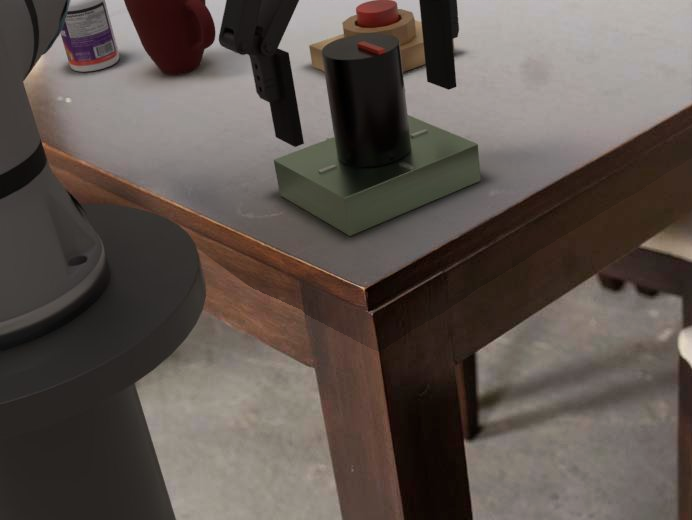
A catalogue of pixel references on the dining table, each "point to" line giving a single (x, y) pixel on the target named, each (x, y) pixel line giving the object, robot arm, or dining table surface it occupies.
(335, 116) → the dial
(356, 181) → the panel
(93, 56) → the pill bottle
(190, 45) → the mug
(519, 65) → the dining table surface
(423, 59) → the button block
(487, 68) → the dining table surface
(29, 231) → the robot arm
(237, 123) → the dining table surface
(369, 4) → the button
